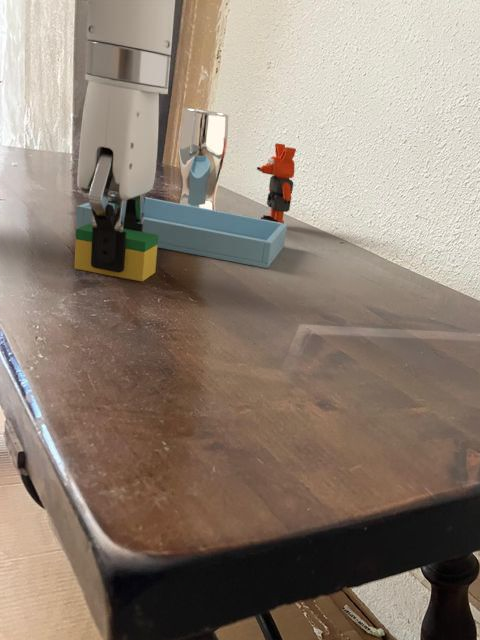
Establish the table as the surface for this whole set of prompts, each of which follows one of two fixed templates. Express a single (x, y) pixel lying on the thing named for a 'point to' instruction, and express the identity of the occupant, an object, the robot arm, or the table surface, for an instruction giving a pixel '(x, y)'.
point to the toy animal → (279, 182)
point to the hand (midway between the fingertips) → (116, 262)
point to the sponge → (136, 254)
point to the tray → (207, 232)
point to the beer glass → (202, 156)
